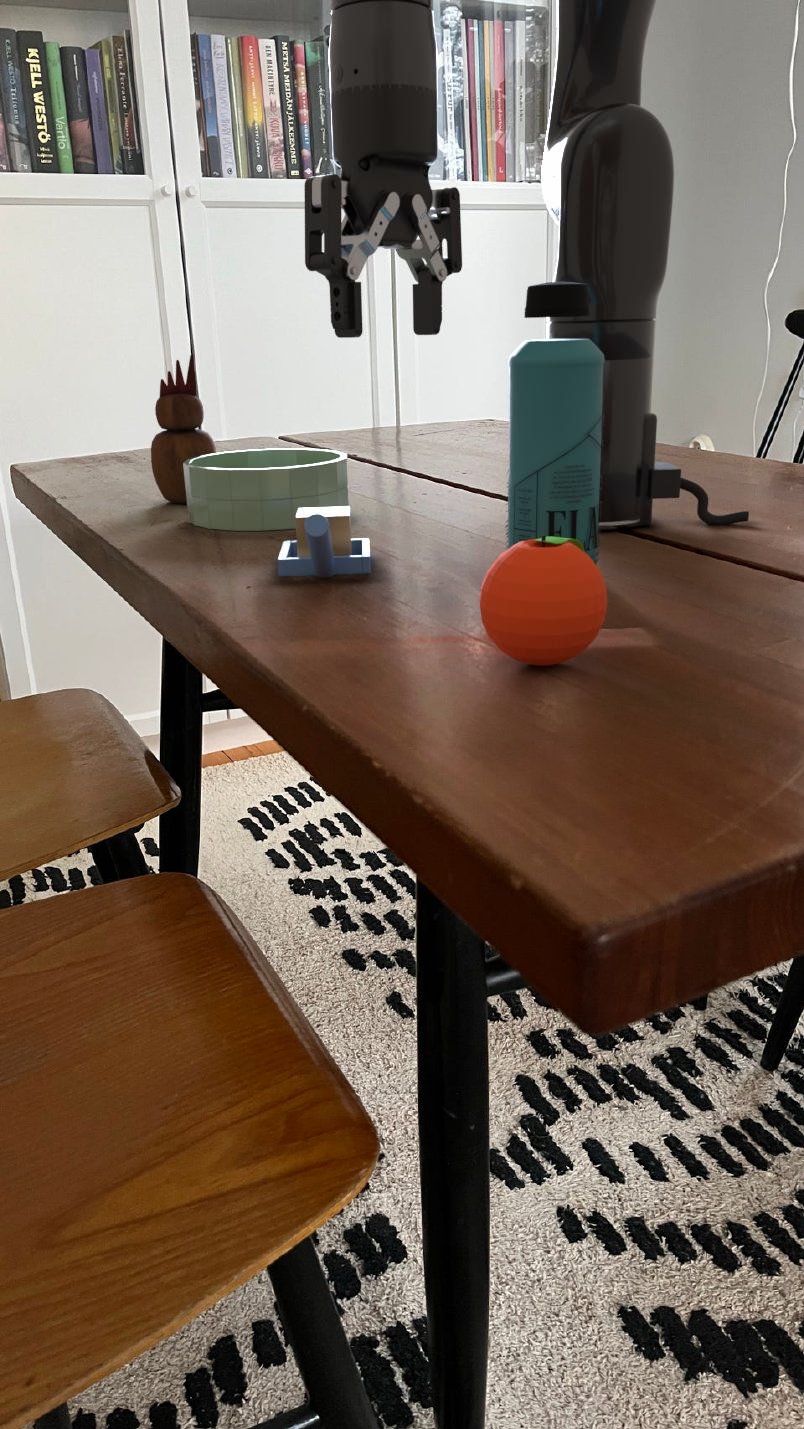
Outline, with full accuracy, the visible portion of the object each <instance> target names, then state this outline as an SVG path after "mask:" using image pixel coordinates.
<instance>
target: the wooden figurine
mask: <svg viewBox="0 0 804 1429" xmlns="http://www.w3.org/2000/svg"><path fill="white" fill-rule="evenodd" d="M180 363H181V362H180V360H179V359H176V360H175V381H174V378H173V375H172V372H171V371H170V370H168V371H167V383H166V382H165V380H164V379H163V378H160V383H159V398H157V399H156V403H155V407H154V411H155V412H154V413H155V414H154V415H155V417H156V422H157V424H158V426H159V427H160V428H161V429H163V430H162V431H160V432H158V433H156V434H155V435H154V437H153V439H152V440H151V446H150V463H151V470H152V474H153V478H154V481H155V484H156V486H157V488H158V490H159V492H160V494H161V495H162V497H163V498H164V499H165V500H166V501H167V502H170V503H174V504H180V505H181V504H182V505H184V504H185V505H187V498H186V488H185V478H184V468H183V463H184V462H185V461H186V460H187V459H191V458H194V457H198V456H202V455H208V454H215V453H217V452H216V451H217V450H216V449H217V448H216V445H215V442H214V439H213V438H212V436H211V435H210V434H209V432H207V431H205V430H203V429H199V428H200V427H201V426H202V424H203V422H204V418H205V417H204V416H205V413H204V406H203V403H202V401H201V399H200V397H198V396H197V383H196V370H195V369H196V368H195V357H194V354H190V355H189V361H188V367H187V374H186V380H185V379H184V376H183V371H182V367H181V364H180Z"/></svg>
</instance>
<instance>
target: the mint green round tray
mask: <svg viewBox="0 0 804 1429" xmlns="http://www.w3.org/2000/svg"><path fill="white" fill-rule="evenodd" d="M183 468H184V478H185V488H186V498H187V504H186V506H187V516H188V521H189V522H190V523H191V524H192V525H193V526H195V527H200V528H205V529H209V530H218V531H231V532H266V531H267V532H269V531H281V530H282V531H283V530H296V521H295V517H296V514H297V511H298V508H316V507H345V506H350V496H349V495H350V493H349V473H348V472H349V471H348V470H349V468H348V454H347V453H344V452H341V451H337V450H330V449H322V448H321V449H320V448H294V447H293V448H261V449H260V448H258V449H245V450H244V449H243V450H234V451H233V450H232V451H223V452H216V453H215V454H208V455H202V456H198V457H194V458H191V459H187V460H186V461H185V462H184V463H183Z"/></svg>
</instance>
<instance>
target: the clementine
mask: <svg viewBox="0 0 804 1429" xmlns="http://www.w3.org/2000/svg"><path fill="white" fill-rule="evenodd" d="M478 599H479V600H478V602H479V609H480V618H481V622H482V624H483V625H482V626H483V627H484V629H485V632H486V634H487V636H488V637H489V638H490V640H491V642H493V643H494V645H495V646H496V647H497V649H499V650H500V651H501V652H502V653H504V654H506V655H507V656H508V657H509V658H511V659H513V660H515V661H517V662H519V663H520V662H521V663H524V664H527V665H530V666H531V665H532V666H537V667H538V666H539V667H545V666H546V667H547V666H552V665H553V666H554V665H557V664H561V663H562V664H563V663H566V662H568V661H570V660H572V659H573V658H574V657H577V656H578V655H580V654H582V652H584V651H585V650H587V648H589V646H590V645H591V644H592V643H593V642H594V641H595V639H596V638H597V636H598V634H599V632H600V631H601V628H602V627H603V624H604V622H605V620H606V614H607V609H608V605H609V604H608V603H609V602H608V590H607V585H606V582H605V580H604V577H603V575H602V573H601V570H600V568H599V567H598V565H597V564H596V565H595V563H594V562H593V561H592V559H591V558H590V557H589V555H587V554H586V553H585V550H584V547H583V545H582V544H581V543H580V542H579V541H578V540H577V539H570V538H562V537H549V536H547V537H546V536H545V535H543V536H542V538H540V539H531V540H526V541H521V542H519V543H517V544H515V545H513V546H512V547H510V548H509V549H508V548H507V550H506V549H505V550H504V551H503V552H502V553H500V554H499V556H497V558H496V559H495V560H494V561H493V563H492V564H491V565H490V566H489V568H488V569H487V571H486V573H485V576H484V578H483V580H482V583H481V585H480V593H479V598H478Z"/></svg>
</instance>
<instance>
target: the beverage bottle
mask: <svg viewBox="0 0 804 1429" xmlns="http://www.w3.org/2000/svg"><path fill="white" fill-rule="evenodd" d="M525 298H526V300H525V307H524V319H534V318H535V319H537V318H538V319H539V318H540V319H541V318H547V317H575V316H589V302H588V287H587V284H581V283H574V282H562V281H560V282H553V281H549V282H543V283H542V282H541V283H537V284H532V285H529V286H527V288H526V296H525ZM507 364H508V370H509V371H508V374H509V375H508V383H509V384H508V386H509V387H508V470H507V473H506V474H508V475H506V477H505V478H507V477H508V478H507V479H508V481H507V482H506V485H507V492H506V495H507V497H505V500H506V499H507V500H506V502H507V503H505V505H506V506H507V510H506V509H505V514H506V513H507V520H505V523H506V524H505V528H506V529H505V532H507V533H505V536H506V538H507V541H505V551H506V550H508V549H509V548H510V547H512V546H513V545H515V544H517V543H519V542H521V541H526V540H531V539H540V538H542V536H543V535H545V536H546V537H547V536H549V537H562V538H570V539H577V540H578V541H579V542H580V543H581V544H582V545H583V547H584V550H585V553H586V554H587V555H589V557H590V558H591V559H592V561H593V562H594V563H595V565H596V566H597V563H598V561H599V560H600V558H598V557H600V553H601V551H600V548H599V547H600V545H601V536H599V531H600V530H599V528H598V521H599V520H598V519H599V506H600V528H601V504H600V505H599V494H600V493H599V488H600V489H602V487H600V482H601V480H600V476H602V475H600V463H601V462H600V459H601V449H602V448H601V441H602V443H603V442H604V441H603V439H602V440H601V438H602V437H601V430H602V422H603V427H604V415H605V414H603V413H602V393H603V391H602V387H603V364H604V355H603V353H602V352H601V351H600V349H599V348H598V347H597V346H596V345H595V344H594V343H593V342H592V341H591V340H590V339H546V338H543V339H542V338H541V339H527V340H524V341H522V343H521V344H520V345H519V346H518V347H517V348H516V349H515V350H514V351H513V352H512V353H511V354H510V356H509V357H508V362H507ZM603 395H604V394H603ZM604 399H605V398H604ZM604 408H605V407H604ZM603 412H604V411H603ZM603 431H604V430H603ZM603 437H604V436H603ZM602 445H603V444H602ZM602 447H603V446H602ZM602 452H603V450H602ZM602 459H603V458H602ZM601 461H602V460H601ZM601 479H602V478H601ZM601 483H602V482H601ZM601 492H602V490H601ZM600 503H601V501H600ZM506 544H507V546H506Z"/></svg>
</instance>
